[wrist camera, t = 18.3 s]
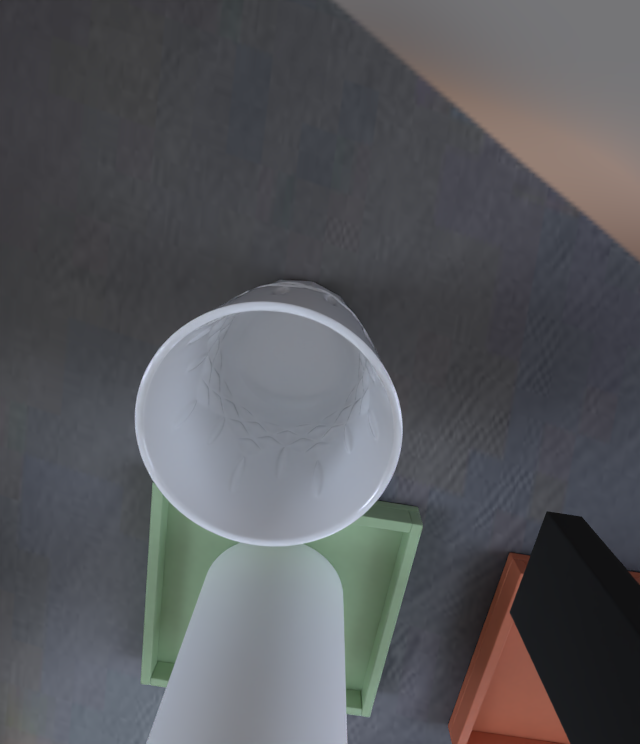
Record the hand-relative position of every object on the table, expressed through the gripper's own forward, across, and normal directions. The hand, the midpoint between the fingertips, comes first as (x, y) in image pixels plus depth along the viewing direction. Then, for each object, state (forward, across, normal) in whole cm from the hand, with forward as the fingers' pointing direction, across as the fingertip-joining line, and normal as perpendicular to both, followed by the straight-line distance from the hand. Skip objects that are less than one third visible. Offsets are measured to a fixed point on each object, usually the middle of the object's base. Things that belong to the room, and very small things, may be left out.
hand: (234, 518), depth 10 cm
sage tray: (+14, +1, -15) cm, 20 cm away
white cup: (+14, 0, 0) cm, 14 cm away
